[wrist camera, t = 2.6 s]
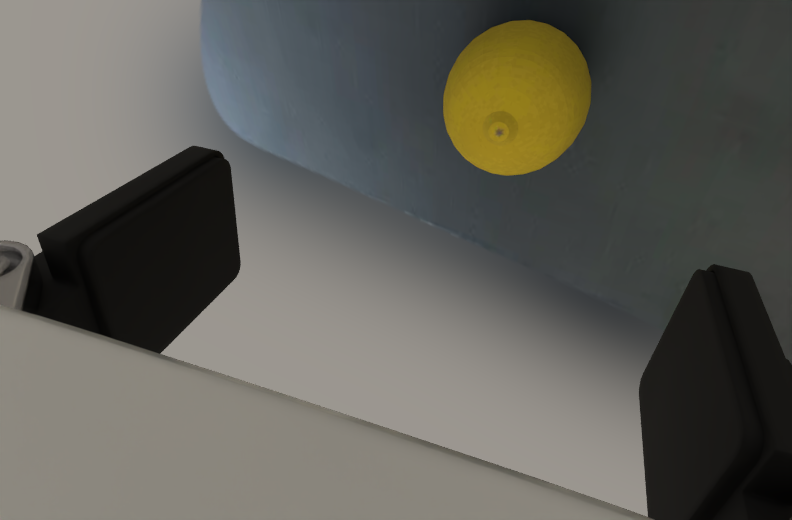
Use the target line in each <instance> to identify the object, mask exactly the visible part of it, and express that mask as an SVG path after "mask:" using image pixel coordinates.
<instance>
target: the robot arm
mask: <svg viewBox="0 0 792 520" xmlns="http://www.w3.org/2000/svg"><path fill="white" fill-rule="evenodd" d="M37 237H38V239H39V242H40V245H41V248H42V252H41V253H39V254H38V255H36V256H34V254H33V252H32V250H31V249H30V248H29V247H28V246H27V245H24V244H22V243H19V242H14V241H0V520H792V365H791V363H790V362H789V360H787V359H786V358H785V356H784V353H783V351H782V348H781V346H780V343H779V341H778V339H777V336H776V334H775V331H774V329H773V326H772V324H771V321H770V319H769V316H768V314H767V312H766V309H765V307H764V304H763V302H762V299H761V297H760V294H759V292H758V289H757V287H756V284H755V282H754V280H753V277H752V275H751V274H750V273H749V272H745V271H741V270H737V269H732V268H728V267H723V266H719V265H715V264H713V265H711V266H710V267H709V268H708V269H707V271H705V270H700V269H698V270H696V272H695V273H694V274H693V276H692V278H691V280H690V282H689V284H688V286H687V288H686V290H685V292H684V294H683V296H682V298H681V300H680V302H679V303H678V305H677V307H676V309H675V311H674V313H673V315H672V317H671V319H670V321H669V323H668V325H667V327H666V329H665V331H664V333H663V335H662V337H661V339H660V341H659V343H658V345H657V347H656V349H655V351H654V353H653V355H652V357H651V360H650V361H649V363H648V365H647V367H646V369H645V371H644V373H643V375H642V378H641V381H640V387H639V400H640V413H641V427H642V441H643V454H644V467H645V481H646V495H647V508H648V517H646V516H643V515H640V514H637V513H635V512H632V511H629V510H627V509H624V508H621V507H618V506H615V505H612V504H610V503H607V502H604V501H601V500H598V499H595V498H592V497H589V496H586V495H584V494H581V493H578V492H575V491H572V490H569V489H566V488H563V487H561V486H558V485H555V484H552V483H549V482H546V481H543V480H540V479H538V478H535V477H531V476H529V475H525V474H523V473H519V472H517V471H514V470H511V469H508V468H504V467H502V466H499V465H496V464H493V463H490V462H487V461H484V460H481V459H478V458H475V457H472V456H469V455H465V454H463V453H460V452H457V451H454V450H451V449H448V448H445V447H442V446H439V445H436V444H433V443H430V442H427V441H424V440H421V439H418V438H415V437H412V436H409V435H406V434H403V433H400V432H397V431H394V430H391V429H388V428H385V427H382V426H379V425H376V424H373V423H370V422H367V421H364V420H361V419H358V418H355V417H352V416H349V415H346V414H343V413H340V412H337V411H333V410H331V409H327V408H325V407H321V406H318V405H315V404H312V403H309V402H306V401H303V400H300V399H297V398H294V397H291V396H288V395H285V394H282V393H279V392H276V391H273V390H269V389H267V388H264V387H260V386H257V385H254V384H251V383H248V382H245V381H242V380H239V379H236V378H233V377H230V376H226V375H224V374H221V373H217V372H215V371H212V370H208V369H205V368H202V367H199V366H196V365H193V364H190V363H187V362H184V361H180V360H177V359H174V358H171V357H168V356H165V355H162V354H160V353H161V352H162V351H163V350H164V349H165V348H166V347H167V346H168V345H169V344H170V343H171V342H172V341H173V340H174V339H175V338H176V337H177V336H178V335H179V334H180V333H181V332H182V331H183V330H184V329H185V328H186V327H187V326H188V325H189V324H190V323H191V322H192V321H193V320H194V319H195V318H196V317H197V316H198V315H199V314H200V313H201V312H202V311H203V310H204V309H205V308H206V307H207V306H208V305H209V304H210V303H211V302H212V301H213V300H214V299H215V298H216V297H217V296H218V295H219V294H220V293H221V292H222V291H223V290H224V289H225V288H226V287H227V286H228V285H229V284H230V283H231V282H232V281H233V280H234V279H235V278H236V277H237V275H238V273H239V270H240V253H239V243H238V234H237V225H236V215H235V205H234V195H233V186H232V177H231V167H230V164H229V162H228V161H227V160H225V159H224V157H223V154H222V153H221V152H219V151H215V150H211V149H207V148H203V147H198V146H191V147H189V148H187V149H186V150H184V151H182V152H180V153H179V154H177V155H175V156H173V157H172V158H170V159H168V160H166V161H165V162H163V163H161V164H159V165H158V166H156V167H154V168H152V169H151V170H149V171H147V172H145V173H144V174H142V175H141V176H138V177H137V178H135V179H133V180H132V181H130V182H128V183H126V184H125V185H123V186H121V187H119V188H118V189H116V190H114V191H112V192H111V193H109V194H107V195H105V196H104V197H102V198H100V199H98V200H97V201H95V202H93V203H92V204H90V205H88V206H86V207H84V208H83V209H81V210H79V211H78V212H76V213H74V214H72V215H70V216H69V217H67V218H65V219H63V220H62V221H60V222H58V223H56V224H55V225H53V226H51V227H50V228H48V229H46V230H44V231H43V232H41V233H39V234H37Z"/></svg>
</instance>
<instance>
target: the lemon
mask: <svg viewBox="0 0 792 520" xmlns="http://www.w3.org/2000/svg"><path fill="white" fill-rule="evenodd" d="M590 103H591V79H590V74H589V70H588V66H587V63H586V60H585V58H584V57H583V55H582V53H581V51H580V50H579V48H578V46H577V45H576V44H575V43H574V42H573V41H572V40H571V39H570V38H569V37H568V36H567V35H566V34H565V33H564V32H562V31H560V30H558V29H556V28H554V27H552V26H551V25H549V24H546V23H541V22H537V21H532V20H520V21H510V22H507V23H504V24H501V25H498V26H495V27H492V28H490V29H488V30H487V31H485V32H484V33H482V34H481V35H479V36H477V37H476V38H475V39H473V40H472V41H471V43H470V44H469V45H468V46H467V47H466V48H465V49H464V50H463V51H462V52H461V53H460V55H459V56H458V58H457V60H456V62H455V64H454V66H453V67H452V69H451V71H450V73H449V76H448V80H447V84H446V87H445V91H444V97H443V115H444V120H445V124H446V128H447V132H448V134H449V136H450V138H451V140H452V142H453V144H454V146H455V147H456V149H457V150H458V151H459V152H460V153H461V154H462V156H463V157H464V158H465V159H466V160H468V161H469V162H471V163H472V164H473V165H475V166H476V167H478V168H480V169H483V170H485V171H488V172H490V173H494V174H500V175H519V174H526V173H529V172H532V171H535V170H538V169H541V168H542V167H544V166H546V165H547V164H549V163H551V162H552V161H554V160H556V159H557V158H558V157H559V156H560V155H561V154H562V153H563V152H564V151H565V150H566V149H567V148H568V147H569V146H570V145H571V144H572V143H573V142H574V140H575V139H576V137H577V135H578V134H579V132H580V130H581V129H582V127H583V125H584V123H585V120H586V117H587V113H588V110H589V107H590Z"/></svg>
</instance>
